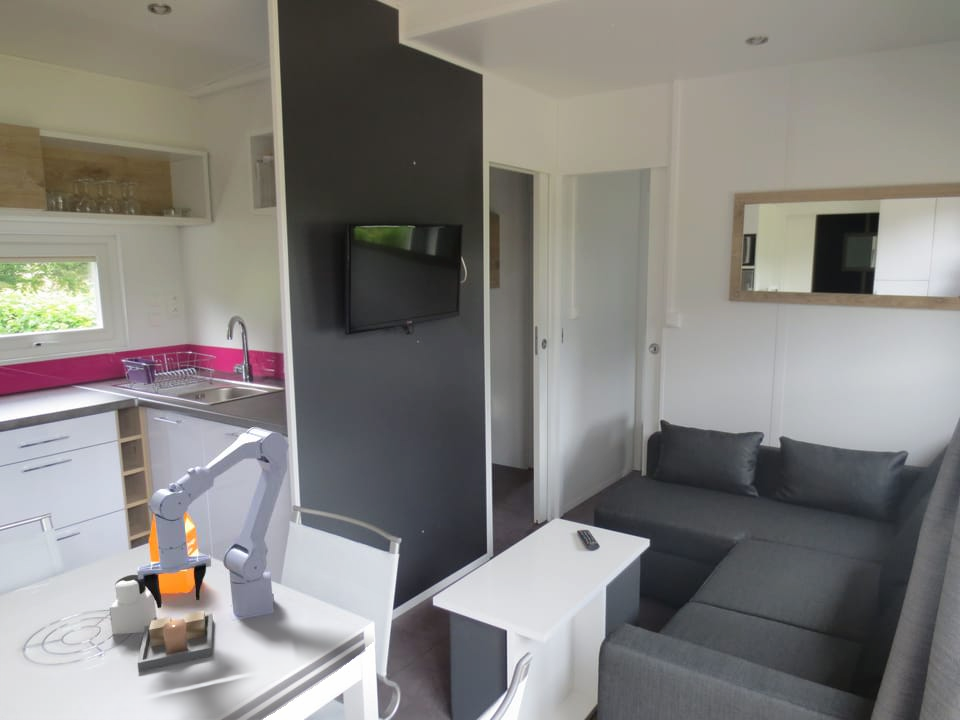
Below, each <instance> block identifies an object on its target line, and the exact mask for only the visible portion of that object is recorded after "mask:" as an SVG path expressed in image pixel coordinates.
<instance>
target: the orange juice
mask: <svg viewBox="0 0 960 720" xmlns="http://www.w3.org/2000/svg"><path fill="white" fill-rule="evenodd" d="M184 521H185V530H186V539H187V548H188V556H200V554H199V548H198V538H197V530H196V525H195V523H194V522H193V520H192V519H191V517H190V516H189V513H188V512H186V513H185V514H184ZM149 533H150V534H149V537H148V546H149V547H148V548H149V554H150V564H154V563H157V562H160V559H159V550H158V542H157V534H156V523H155V515H154V514H153V518H152V523H151V529H150V532H149ZM194 585H195V580H194V568H192V569H187V570H181V571H179V572H178V573H173V574H169V573H164V574H159V587H160V593H161V594H180V593H179V592H184V593H183V594H189V593H188V592H191V591H192V590H193V588H194V587H195V586H194ZM193 586H194V587H193Z"/></svg>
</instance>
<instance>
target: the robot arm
mask: <svg viewBox="0 0 960 720" xmlns="http://www.w3.org/2000/svg"><path fill="white" fill-rule="evenodd" d="M289 446H290V444H289V443H288V441H287V439H286V438H285V437H284V435H283V434H282V433H280V432H278V431H276V432H275V431H271V430H268V429H263V428H261V427H260V426H254V427H250V428H249V429H247V430H246V432H243V433H242V434H240V435H239V436H238V438H237V439H236V440H235V441H234V442H233V443H232V444H231V445H230V446H228V447H227V448H226V449H225V450H223V452H221V453H220V454H218V456H217V457H215V458H214V459H212V460H211V461H210V462H209V463H208V464H207V465H206V466H195V467H194V468H193V467H190V468H188V469H187V470H186V474H184V475H183V476H181V477H180V478H179V479H178V480H176V481H174V482H171V483H169V484H168V487H167V488H161V489H158V490H157V491H155V492H154V493H153V494H152V495H151V498H150V499H149V500H150V501H149V503H148V504H147V507H148V509H149V511H150V512H151V513H152V514H153V516H154V515H155V523H156V534H157V542H158V550H159V559H160V562H157V563H154V564H151V563H150V564H147V565H144V566H143V565H142V566H139V567H137V571H136V573H137V575H138V579H143V578H144V585H145V587H146V589H148V590H147V591H150V592H151V594H152V595H153V597H154V600H155V604H156V606H157V608H158V609H161V608H162V606H163V604H162V603H163V599H162V595H161V594H162V593H160V587H159V574H164V573H169V574H173V573H178V572H179V571H181V570H187V569H192V568H194V580H195V586H194V587H195V601H196V602H197V601H200V598H201V596H200V594H201V593H200V592H201V589H202V583H203V581H204V578H205V576H206V572H207V568H208V567H209V568H210V567H211V566H212V559H211V554H206V555H199V556H188V548H187V539H186V530H185V521H184V514H185V513H187V511H188V508H189V507H190V505H191V504H192V503H193V502H194V501H196V500H197V499H198V498H199V497H201V496H202V495H204V494H205V493H206V492H208V491H209V490H210V489H211V488H212V487H214V482H215V479H216V478H218V477H220V476H221V475H222V474H224V473H226V472H227V471H228V470H230V469H231V468H232V467H234V466H236V465H237V464H239V463H240V462H242V461H243V460H245V459H247V460H249V459H250V460H251V459H255V460H256V461H257V463H258V465H259V467H260V468H261V472H260V475H259V479H258V482H257V485H256V488H255V491H254V494H253V496H252V498H251V503H250V505H249V508H248V512H247V515H246V518H245V520H244V524H243V525H242V530H241V533H240V534H238V535H237V536H236V537H234V538H232V542H231V544H230V546H229V547H228V548H227V550H225V552H224V554H223V558H222V563H223V566H224V567H225V569H227V570H229V571H228V572H229V581H230V592H231V593H230V594H231V603H232V604H231V605H230V606H231V607H230V612H231V613H230V614H231V618H230V620H231V621H237V620H242V619H243V620H244V619H248V618H252V617H257V616H263V615H268V614H272V613H274V612H275V610H274V602H275V595H274V593H273V587H272V577H271V576H272V575H271V571H266V569H267V556H268V555H267V554H268V551H269V550H268V547H267V543H266V541H265V537H266V534H267V531H268V528H269V525H270V522H271V518H272V517H273V516H272V515H273V513H274V509H275V506H276V503H277V501H278V498H279V494H280V491H281V489H282V488H281V487H282V485H283V482H284V479H285V475H286V473H287V470H288V469H287V468H288V459H287V452H288V449H289Z"/></svg>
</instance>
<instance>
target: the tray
mask: <svg viewBox="0 0 960 720" xmlns="http://www.w3.org/2000/svg"><path fill="white" fill-rule="evenodd" d="M180 620H185V618H181V619H180ZM205 623H206V633H205V636H201V637H196V638H191V639H187V644H188V650H187V651H183V652H178V653H173V654H168V655H166V652H165V644H162V645H157V646H152V647H151V641H150V632H149V628H150V625H149V626H146V627H145V632H143V637H142V641H141V646H140V649H139V655H138V660H137V670H138V671H137V672H143V671H148V670H153V669H158V668H162V667H163V668H164V667H166V666H171V665H177V664H181V663H186V662H191V661H195V660H199V659H200V660H201V659H205V658H209V657H212V656H213V655H212V654H213V632H214V617H213V613H207V614H205Z"/></svg>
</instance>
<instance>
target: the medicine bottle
mask: <svg viewBox="0 0 960 720" xmlns="http://www.w3.org/2000/svg"><path fill="white" fill-rule="evenodd" d="M114 586H115V594H116V595H115V598H116V600H115V601H114V602H113V603H112V604H111V605H110V607H109V615H110V625H111V631H112V633H111V634H112V635H125V634H139V633H140V634H141V633H144V632H145V627H146V626H149V625H150V624H151V620H156V618H157V611H156V601H155V599H154V597H153V595H152V594H151V592H150V591H149V590H147V587H146V586H145V585H144V578H143V579H138V574H129V575H126V576H123V577H121V578H120V579H118V580H117V581H116V582H115V585H114Z"/></svg>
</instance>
